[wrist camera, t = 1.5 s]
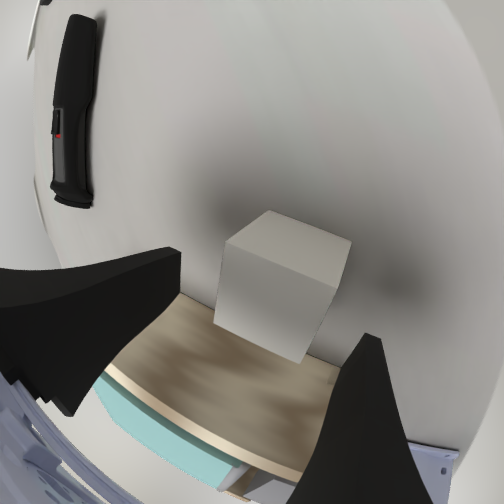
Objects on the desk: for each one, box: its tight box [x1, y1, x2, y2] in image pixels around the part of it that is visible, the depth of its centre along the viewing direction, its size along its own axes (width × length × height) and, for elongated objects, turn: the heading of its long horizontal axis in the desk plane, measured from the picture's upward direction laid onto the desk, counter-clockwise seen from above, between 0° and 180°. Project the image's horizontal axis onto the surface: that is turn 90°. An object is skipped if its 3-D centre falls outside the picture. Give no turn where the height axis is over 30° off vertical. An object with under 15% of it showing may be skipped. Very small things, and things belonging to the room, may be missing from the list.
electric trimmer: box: [50, 14, 97, 209], centre depth 14 cm, size 4×16×3 cm, turn 169°
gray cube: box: [213, 210, 352, 364], centre depth 11 cm, size 4×4×4 cm
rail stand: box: [104, 293, 341, 502], centre depth 18 cm, size 17×17×7 cm
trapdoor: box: [93, 371, 298, 504], centre depth 16 cm, size 18×12×4 cm, turn 79°
